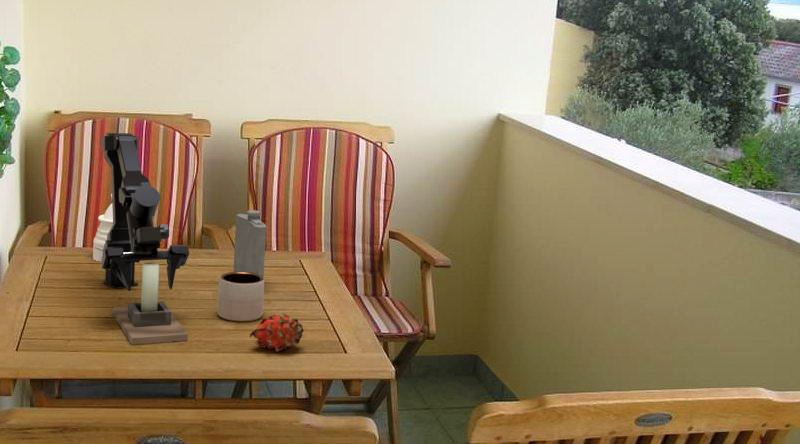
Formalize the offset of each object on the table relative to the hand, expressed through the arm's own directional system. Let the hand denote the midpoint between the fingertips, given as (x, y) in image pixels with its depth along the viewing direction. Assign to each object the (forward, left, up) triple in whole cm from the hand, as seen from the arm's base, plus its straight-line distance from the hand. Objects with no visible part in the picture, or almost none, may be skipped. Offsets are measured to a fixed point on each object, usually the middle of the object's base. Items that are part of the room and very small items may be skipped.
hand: (150, 289), depth 212 cm
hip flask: (-42, -14, -9) cm, 45 cm away
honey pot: (-28, -54, -9) cm, 61 cm away
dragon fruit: (-13, +27, -9) cm, 32 cm away
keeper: (0, -1, -9) cm, 9 cm away
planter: (-22, +5, -9) cm, 25 cm away
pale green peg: (0, -1, -7) cm, 8 cm away
